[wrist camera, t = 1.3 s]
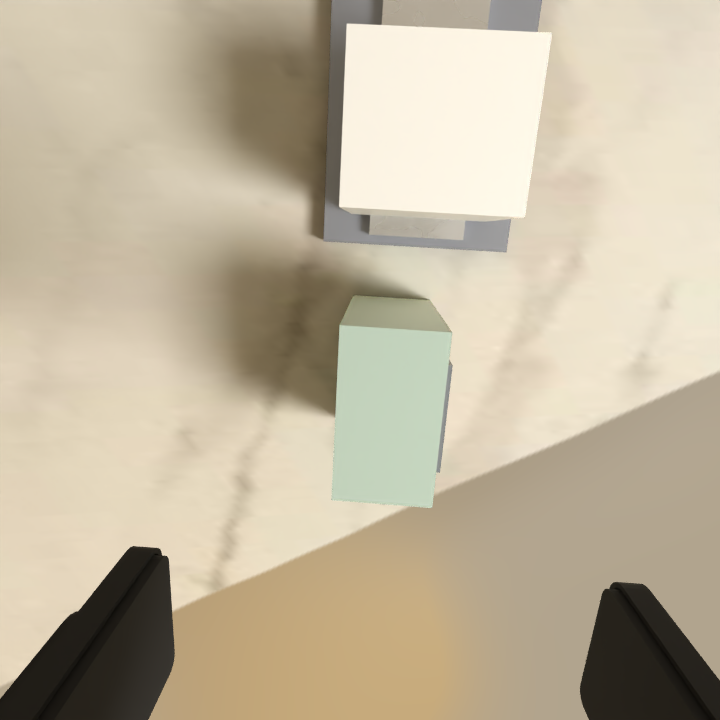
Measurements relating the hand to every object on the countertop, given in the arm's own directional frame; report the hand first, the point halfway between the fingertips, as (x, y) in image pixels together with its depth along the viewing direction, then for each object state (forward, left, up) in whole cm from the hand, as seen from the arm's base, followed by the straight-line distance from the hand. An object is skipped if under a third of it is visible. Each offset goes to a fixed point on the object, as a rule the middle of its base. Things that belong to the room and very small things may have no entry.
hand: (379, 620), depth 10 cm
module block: (0, 0, -19) cm, 19 cm away
